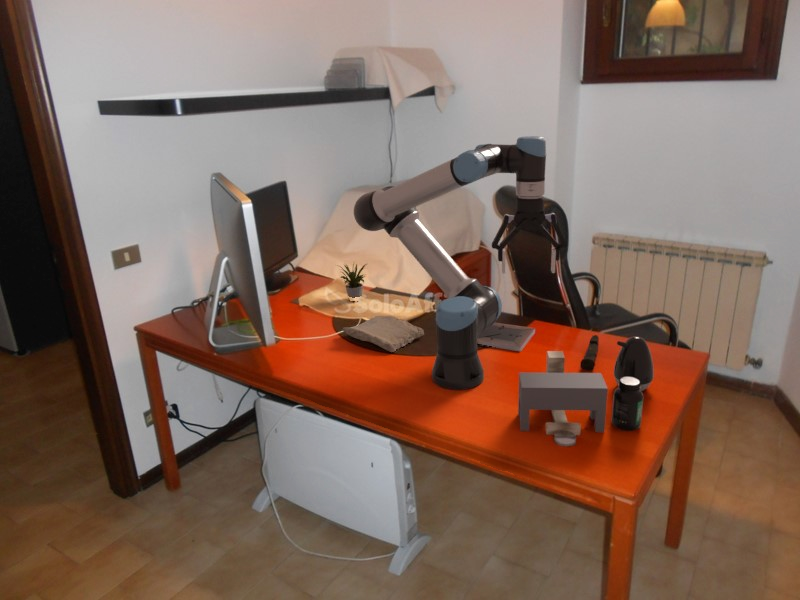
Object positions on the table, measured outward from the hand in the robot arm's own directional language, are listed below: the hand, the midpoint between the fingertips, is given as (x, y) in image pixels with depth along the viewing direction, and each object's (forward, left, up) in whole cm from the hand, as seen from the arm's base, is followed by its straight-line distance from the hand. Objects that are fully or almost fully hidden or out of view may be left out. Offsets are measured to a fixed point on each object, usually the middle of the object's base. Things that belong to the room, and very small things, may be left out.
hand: (528, 272), depth 168 cm
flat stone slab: (-47, +24, -31) cm, 61 cm away
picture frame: (-7, +25, -32) cm, 41 cm away
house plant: (-64, +62, -31) cm, 95 cm away
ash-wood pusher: (+6, -25, -31) cm, 40 cm away
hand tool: (+20, +9, -31) cm, 38 cm away
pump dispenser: (+28, -10, -31) cm, 43 cm away
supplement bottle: (+22, -29, -31) cm, 48 cm away
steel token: (+6, -37, -31) cm, 49 cm away
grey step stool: (+6, -29, -31) cm, 43 cm away
